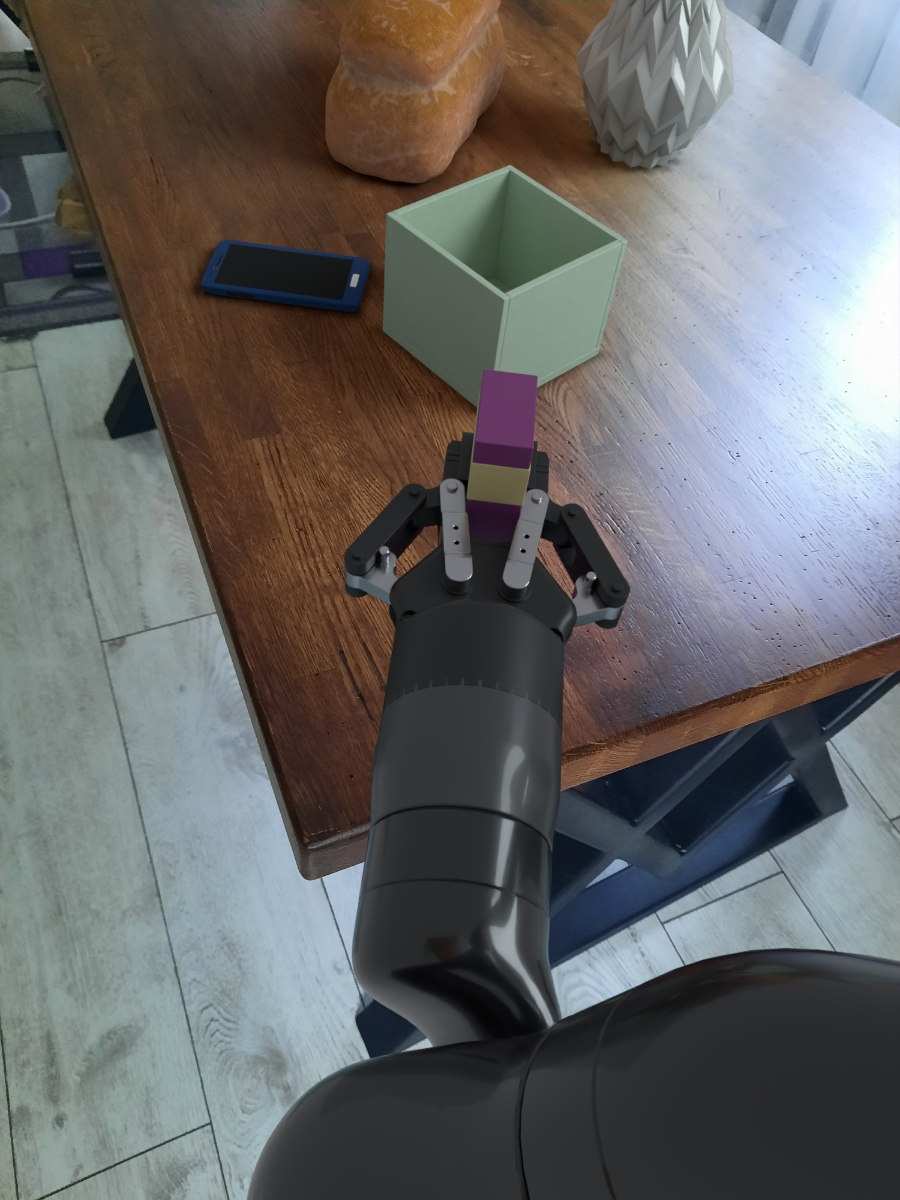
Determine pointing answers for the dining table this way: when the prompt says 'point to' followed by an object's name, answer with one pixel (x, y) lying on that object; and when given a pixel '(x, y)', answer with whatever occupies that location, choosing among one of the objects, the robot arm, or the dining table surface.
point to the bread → (412, 84)
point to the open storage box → (498, 281)
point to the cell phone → (286, 275)
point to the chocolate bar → (501, 454)
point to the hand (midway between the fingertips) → (497, 448)
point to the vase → (655, 76)
